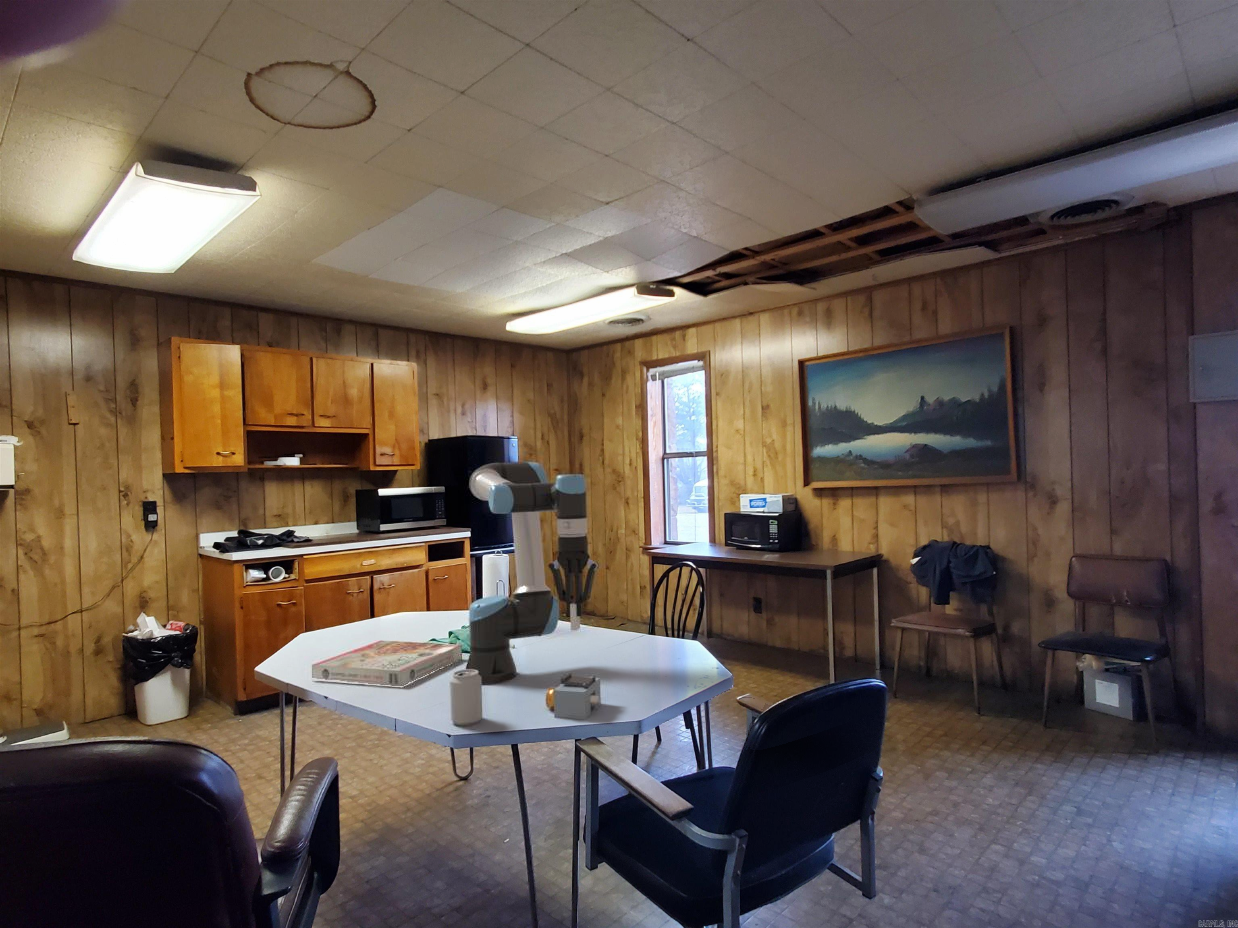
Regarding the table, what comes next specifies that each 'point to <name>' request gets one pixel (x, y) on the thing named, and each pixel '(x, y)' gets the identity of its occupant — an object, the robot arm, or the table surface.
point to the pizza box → (388, 662)
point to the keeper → (577, 680)
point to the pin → (550, 699)
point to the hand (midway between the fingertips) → (575, 628)
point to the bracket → (575, 700)
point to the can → (466, 697)
